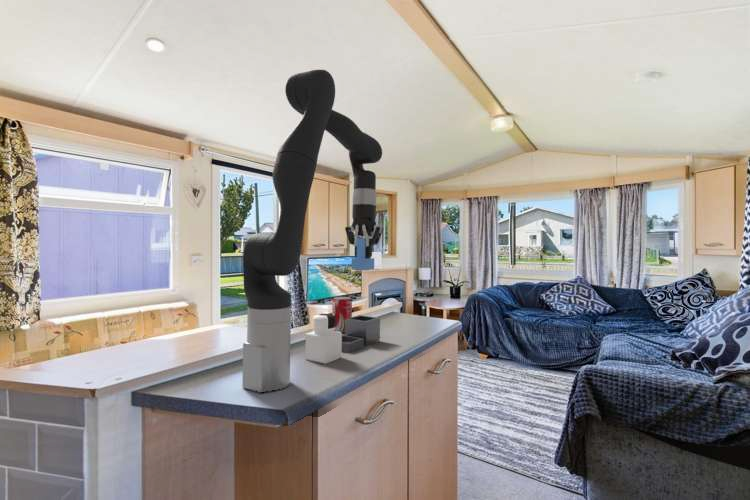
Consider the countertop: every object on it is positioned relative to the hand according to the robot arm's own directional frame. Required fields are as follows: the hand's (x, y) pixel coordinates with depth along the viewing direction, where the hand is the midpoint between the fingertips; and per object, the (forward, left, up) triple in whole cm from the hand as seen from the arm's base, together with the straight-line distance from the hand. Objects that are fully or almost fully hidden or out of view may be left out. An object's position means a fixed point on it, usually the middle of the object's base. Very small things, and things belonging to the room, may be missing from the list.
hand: (363, 257), depth 123 cm
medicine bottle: (-21, -2, -27) cm, 34 cm away
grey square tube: (+1, 0, -27) cm, 27 cm away
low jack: (-9, 0, -27) cm, 28 cm away
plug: (0, 0, -4) cm, 4 cm away
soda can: (+9, +15, -27) cm, 32 cm away
